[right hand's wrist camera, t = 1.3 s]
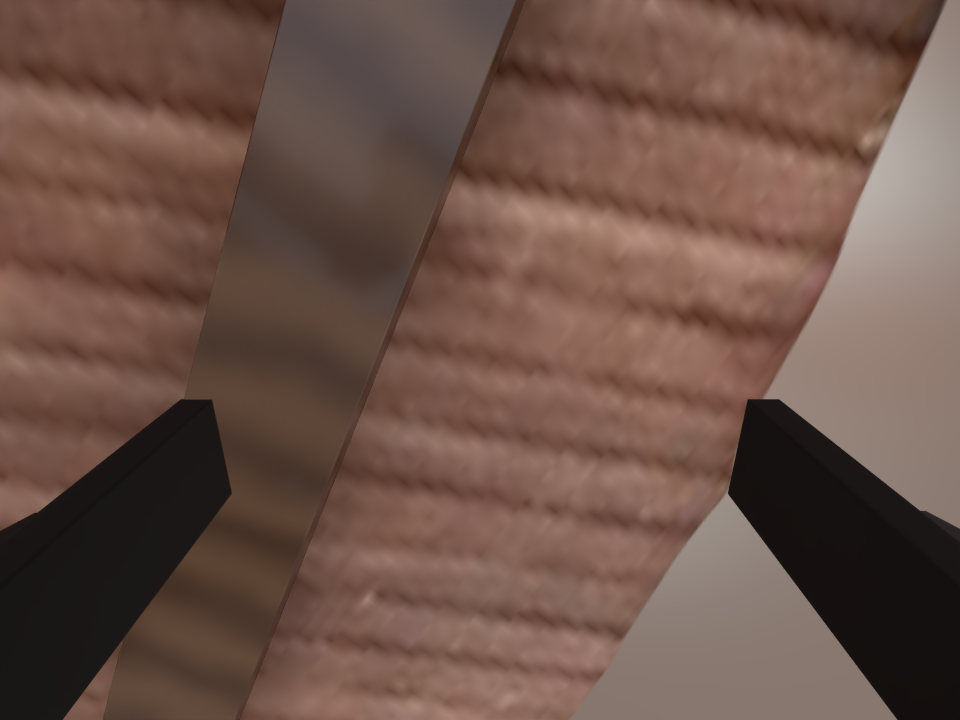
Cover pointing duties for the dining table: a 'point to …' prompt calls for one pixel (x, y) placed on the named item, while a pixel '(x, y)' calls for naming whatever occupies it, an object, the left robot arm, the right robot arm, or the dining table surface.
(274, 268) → the thick board
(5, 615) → the right robot arm
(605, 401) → the dining table surface
